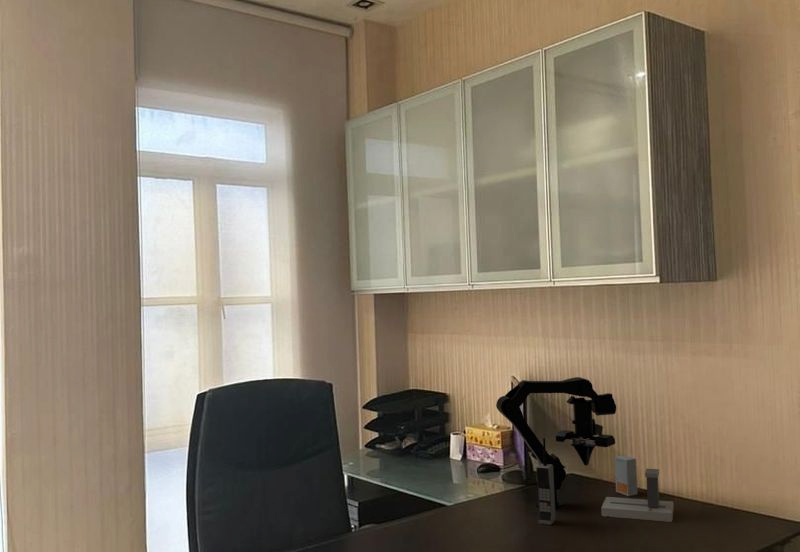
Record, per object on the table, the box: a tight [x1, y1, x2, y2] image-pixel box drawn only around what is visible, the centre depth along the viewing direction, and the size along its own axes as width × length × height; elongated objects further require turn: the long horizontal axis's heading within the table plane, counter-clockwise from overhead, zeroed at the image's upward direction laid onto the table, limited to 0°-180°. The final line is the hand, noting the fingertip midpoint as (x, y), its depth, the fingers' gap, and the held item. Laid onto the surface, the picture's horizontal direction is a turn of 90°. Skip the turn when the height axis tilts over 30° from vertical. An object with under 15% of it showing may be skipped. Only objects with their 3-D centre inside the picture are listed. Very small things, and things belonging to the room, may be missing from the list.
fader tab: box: [644, 468, 660, 508], centre depth 215 cm, size 4×6×10 cm, turn 157°
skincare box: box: [614, 454, 638, 497], centre depth 237 cm, size 6×4×12 cm
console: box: [600, 496, 675, 523], centre depth 216 cm, size 20×12×3 cm, turn 67°
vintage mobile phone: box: [535, 437, 556, 526], centre depth 212 cm, size 4×5×25 cm
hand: (586, 465), depth 229 cm, fingers closed
